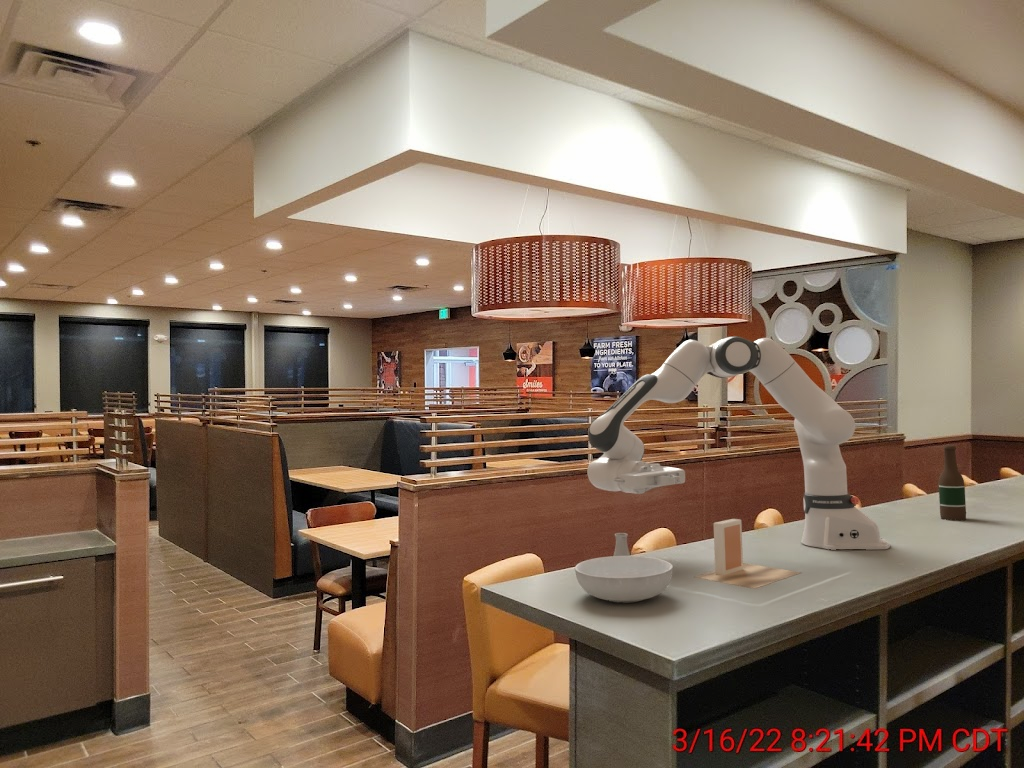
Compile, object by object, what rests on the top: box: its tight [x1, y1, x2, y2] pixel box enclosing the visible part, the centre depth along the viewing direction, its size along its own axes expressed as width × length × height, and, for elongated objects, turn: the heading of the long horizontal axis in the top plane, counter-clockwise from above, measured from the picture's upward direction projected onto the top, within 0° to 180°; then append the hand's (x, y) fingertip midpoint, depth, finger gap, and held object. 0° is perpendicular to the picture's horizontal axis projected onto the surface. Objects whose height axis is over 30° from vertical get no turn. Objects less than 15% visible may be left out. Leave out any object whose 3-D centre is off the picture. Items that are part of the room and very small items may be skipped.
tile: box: [713, 518, 744, 575], centre depth 177 cm, size 2×8×12 cm, turn 130°
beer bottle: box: [938, 444, 967, 522], centre depth 243 cm, size 8×8×24 cm
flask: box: [613, 532, 632, 556], centre depth 180 cm, size 7×7×10 cm
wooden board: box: [694, 562, 802, 589], centre depth 173 cm, size 16×20×1 cm
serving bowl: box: [574, 555, 674, 604], centre depth 159 cm, size 21×21×7 cm
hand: (677, 480), depth 190 cm, fingers closed
